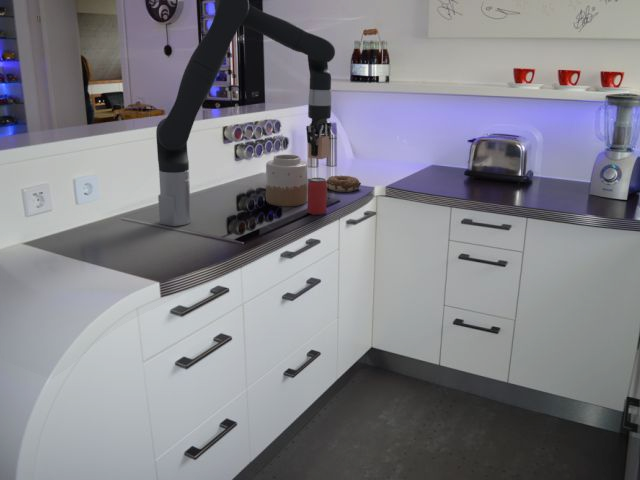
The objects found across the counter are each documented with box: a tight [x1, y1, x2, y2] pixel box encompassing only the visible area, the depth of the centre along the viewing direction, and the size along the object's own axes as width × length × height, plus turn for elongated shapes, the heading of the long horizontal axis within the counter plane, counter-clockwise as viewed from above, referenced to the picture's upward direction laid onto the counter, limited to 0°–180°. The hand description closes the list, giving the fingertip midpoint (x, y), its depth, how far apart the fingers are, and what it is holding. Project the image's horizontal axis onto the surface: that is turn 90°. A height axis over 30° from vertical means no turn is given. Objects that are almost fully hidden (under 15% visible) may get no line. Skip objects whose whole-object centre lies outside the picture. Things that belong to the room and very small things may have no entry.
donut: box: [326, 174, 362, 193], centre depth 245 cm, size 14×14×5 cm
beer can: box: [307, 177, 328, 216], centre depth 209 cm, size 7×7×12 cm
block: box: [308, 136, 330, 160], centre depth 203 cm, size 5×5×7 cm
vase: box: [265, 154, 309, 207], centre depth 222 cm, size 15×15×17 cm
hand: (318, 154), depth 204 cm, fingers closed on block, 5 cm apart
